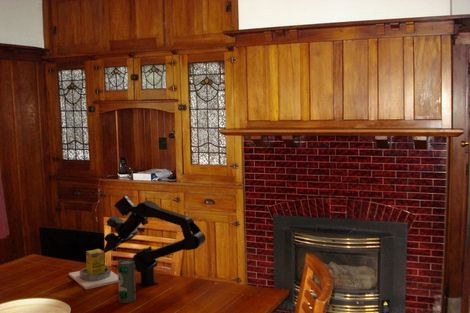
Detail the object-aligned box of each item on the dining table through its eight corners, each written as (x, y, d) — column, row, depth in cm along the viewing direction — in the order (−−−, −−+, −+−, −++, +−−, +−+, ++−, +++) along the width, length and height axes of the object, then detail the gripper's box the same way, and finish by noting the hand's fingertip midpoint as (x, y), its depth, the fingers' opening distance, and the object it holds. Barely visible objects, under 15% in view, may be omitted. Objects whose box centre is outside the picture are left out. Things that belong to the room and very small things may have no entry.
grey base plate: (123, 281, 221) (123, 278, 221) (85, 289, 212) (85, 287, 212) (104, 268, 239) (103, 266, 239) (69, 275, 230) (68, 273, 230)
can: (118, 298, 201) (116, 260, 200) (134, 296, 204) (132, 258, 202) (120, 303, 196) (119, 265, 194) (136, 301, 198) (135, 263, 196)
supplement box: (92, 279, 221) (91, 254, 220) (86, 275, 226) (85, 251, 225) (105, 276, 225) (104, 251, 224) (99, 272, 229) (98, 248, 228)
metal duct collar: (114, 276, 224) (114, 271, 223) (86, 283, 217) (85, 277, 216) (104, 269, 234) (103, 264, 234) (76, 275, 227) (76, 269, 226)
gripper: (129, 205, 227) (108, 229, 231) (106, 215, 209) (84, 241, 214) (146, 223, 225) (125, 247, 230) (125, 235, 208) (103, 261, 212)
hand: (110, 248), depth 222 cm, fingers open, 9 cm apart
